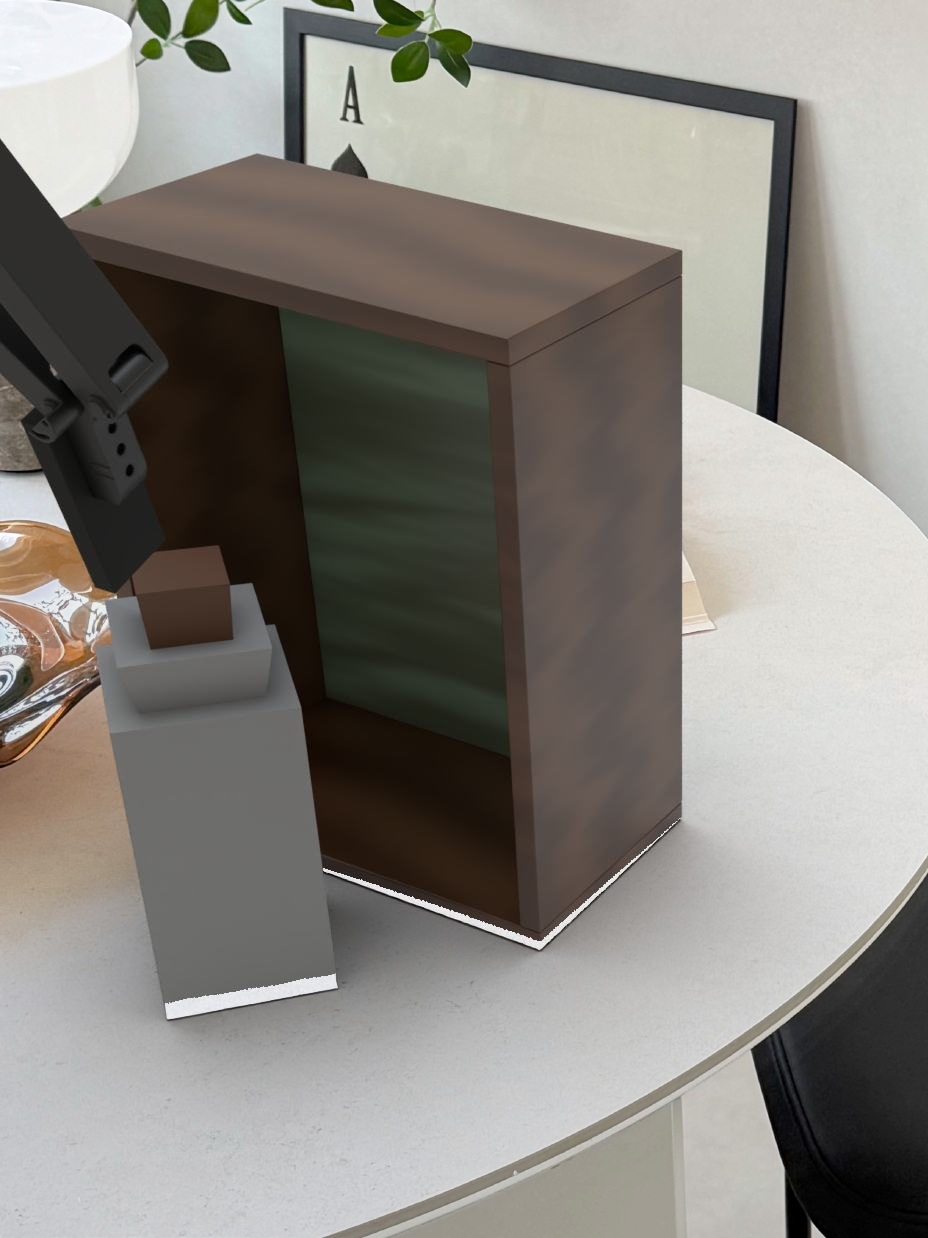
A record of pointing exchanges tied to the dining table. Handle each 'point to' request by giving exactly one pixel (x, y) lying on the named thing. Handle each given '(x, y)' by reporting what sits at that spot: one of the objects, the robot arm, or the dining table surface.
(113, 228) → the cabinet
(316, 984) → the dining table surface
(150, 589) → the perfume bottle
